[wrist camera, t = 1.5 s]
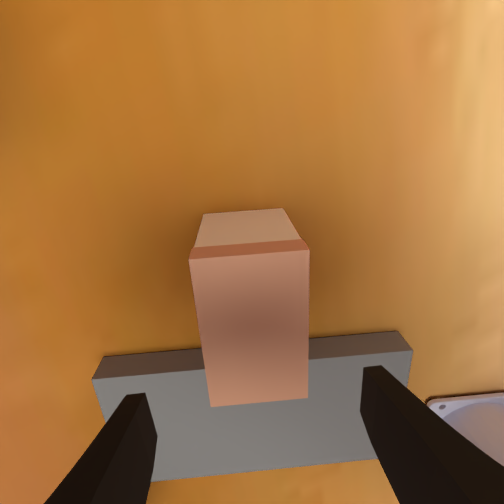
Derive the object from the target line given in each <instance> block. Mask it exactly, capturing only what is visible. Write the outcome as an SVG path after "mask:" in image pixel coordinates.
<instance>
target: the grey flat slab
mask: <svg viewBox="0 0 504 504" xmlns="http://www.w3.org/2000/svg"><path fill="white" fill-rule="evenodd" d="M412 354H413V350H412V348H411V347H410V346H409V344H408V343H407V342H406V341H405V339H404V338H403V337H402V336H401V334H400V333H399V332H398V331H391V332H380V333H369V334H357V335H346V336H335V337H323V338H312V339H309V351H308V398H303V399H292V400H282V401H271V402H260V403H250V404H239V405H229V406H218V407H211V406H210V399H209V393H208V386H207V379H206V373H205V366H204V359H203V353H202V348H199V349H188V350H176V351H165V352H154V353H142V354H131V355H120V356H108V357H103V359H102V361H101V363H100V364H99V366H98V368H97V370H96V372H95V374H94V376H93V377H92V379H91V380H92V383H93V386H94V389H95V392H96V395H97V398H98V401H99V404H100V407H101V410H102V413H103V416H104V419H105V422H107V421H108V419H109V418H110V417H111V415H112V414H113V412H114V411H115V409H116V408H117V407H118V405H119V404H120V402H121V401H122V399H123V398H124V397H125V396H126V395H128V394H137V393H146V396H147V400H148V404H149V407H150V411H151V414H152V418H153V421H154V425H155V428H156V432H157V435H158V437H157V446H156V454H155V461H154V468H153V474H152V478H151V482H154V481H164V480H174V479H184V478H194V477H203V476H213V475H223V474H233V473H243V472H252V471H262V470H272V469H282V468H291V467H301V466H311V465H321V464H331V463H340V462H350V461H360V460H370V459H378V457H377V455H376V453H375V451H374V449H373V447H372V444H371V442H370V439H369V436H368V434H367V431H366V428H365V425H364V422H363V419H362V417H361V414H360V402H361V390H362V378H363V367H369V366H378V365H382V366H383V367H384V368H385V369H386V370H388V371H389V372H390V373H391V374H392V375H393V376H394V377H395V378H396V379H397V380H399V381H400V382H401V383H402V384H403V385H404V386H405V387H406V388H407V383H408V378H409V372H410V366H411V360H412Z"/></svg>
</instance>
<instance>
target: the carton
mask: <svg viewBox="0 0 504 504" xmlns="http://www.w3.org/2000/svg"><path fill="white" fill-rule="evenodd" d="M188 260H189V266H190V273H191V280H192V286H193V293H194V300H195V306H196V313H197V319H198V326H199V333H200V339H201V346H202V353H203V359H204V366H205V373H206V379H207V386H208V393H209V399H210V406H211V407H218V406H229V405H239V404H250V403H260V402H271V401H282V400H292V399H303V398H308V351H309V267H310V250H309V248H308V246H307V245H306V243H305V241H304V240H303V239H301V238H300V236H299V234H298V233H297V231H296V229H295V228H294V226H293V224H292V223H291V221H290V219H289V218H288V216H287V214H286V212H285V211H284V209H283V208H277V209H263V210H250V211H236V212H223V213H210V214H203V218H202V221H201V225H200V228H199V231H198V235H197V238H196V242H195V245H194V248H192V250H191V253H190V256H189V259H188Z"/></svg>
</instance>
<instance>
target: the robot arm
mask: <svg viewBox="0 0 504 504" xmlns="http://www.w3.org/2000/svg"><path fill="white" fill-rule="evenodd" d="M360 414H361V417H362V419H363V422H364V425H365V428H366V431H367V434H368V436H369V439H370V442H371V444H372V447H373V449H374V451H375V453H376V455H377V457H378V459H379V461H380V464H381V466H382V468H383V470H384V472H385V474H386V476H387V478H388V480H389V482H390V484H391V486H392V489H393V491H394V493H395V495H396V497H397V499H398V501H399V503H400V504H504V392H502V393H492V394H481V395H471V396H461V397H450V398H440V399H432V400H430V401H429V402H428V403H427V405H425V404H424V403H423V402H422V401H421V400H420V399H419V398H417V397H416V396H415V395H414V394H413V393H412V392H411V391H410V390H408V389H407V388H406V387H405V386H404V385H403V384H402V383H401V382H400V381H399V380H397V379H396V378H395V377H394V376H393V375H392V374H391V373H390V372H389V371H388V370H386V369H385V368H384V367H383V366H382V365H378V366H369V367H363V378H362V390H361V402H360ZM157 437H158V435H157V432H156V428H155V425H154V421H153V418H152V414H151V411H150V407H149V404H148V400H147V396H146V393H137V394H128V395H126V396H125V397H124V398H123V399H122V401H121V402H120V404H119V405H118V407H117V408H116V409H115V411H114V412H113V414H112V415H111V417H110V418H109V419H108V421H107V422H106V424H105V425H104V426H103V428H102V429H101V431H100V432H99V433H98V435H97V436H96V438H95V439H94V440H93V442H92V443H91V444H90V446H89V447H88V448H87V450H86V451H85V452H84V454H83V455H82V456H81V458H80V459H79V460H78V462H77V463H76V464H75V466H74V467H73V468H72V470H71V471H70V472H69V473H68V474H67V476H66V477H65V478H64V479H63V481H62V482H61V483H60V484H59V486H58V487H57V488H56V489H55V491H54V492H53V493H52V494H51V496H50V497H49V498H48V499H47V500H46V502H45V503H44V504H146V500H147V495H148V491H149V487H150V483H151V478H152V474H153V468H154V461H155V454H156V446H157Z"/></svg>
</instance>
